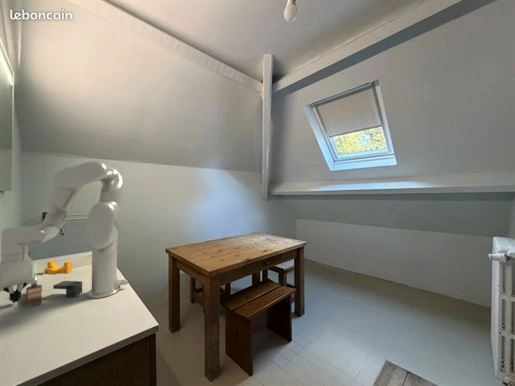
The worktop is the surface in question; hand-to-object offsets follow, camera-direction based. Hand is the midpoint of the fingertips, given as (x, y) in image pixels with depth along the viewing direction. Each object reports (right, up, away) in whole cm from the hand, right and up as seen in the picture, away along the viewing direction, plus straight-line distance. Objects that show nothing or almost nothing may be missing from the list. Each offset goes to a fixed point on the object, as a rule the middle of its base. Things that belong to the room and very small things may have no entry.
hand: (15, 301), depth 90 cm
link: (+2, -1, +5) cm, 6 cm away
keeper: (+14, -1, +9) cm, 17 cm away
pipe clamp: (-14, -2, +34) cm, 37 cm away
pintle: (-2, +2, +10) cm, 10 cm away
